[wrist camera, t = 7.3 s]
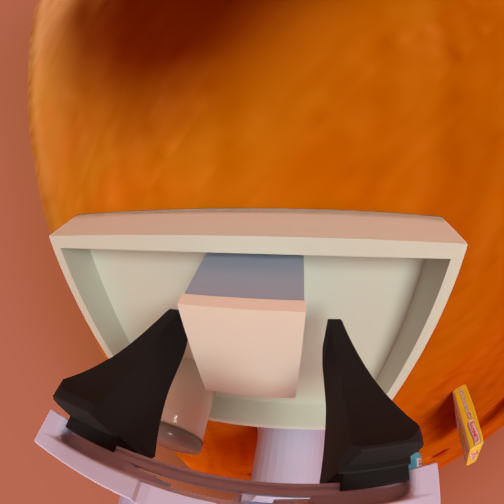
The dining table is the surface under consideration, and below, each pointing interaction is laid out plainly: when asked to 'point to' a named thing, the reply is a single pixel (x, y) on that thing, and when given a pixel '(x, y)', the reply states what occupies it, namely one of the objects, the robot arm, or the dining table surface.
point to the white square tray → (315, 285)
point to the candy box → (467, 424)
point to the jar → (185, 411)
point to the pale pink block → (246, 322)
